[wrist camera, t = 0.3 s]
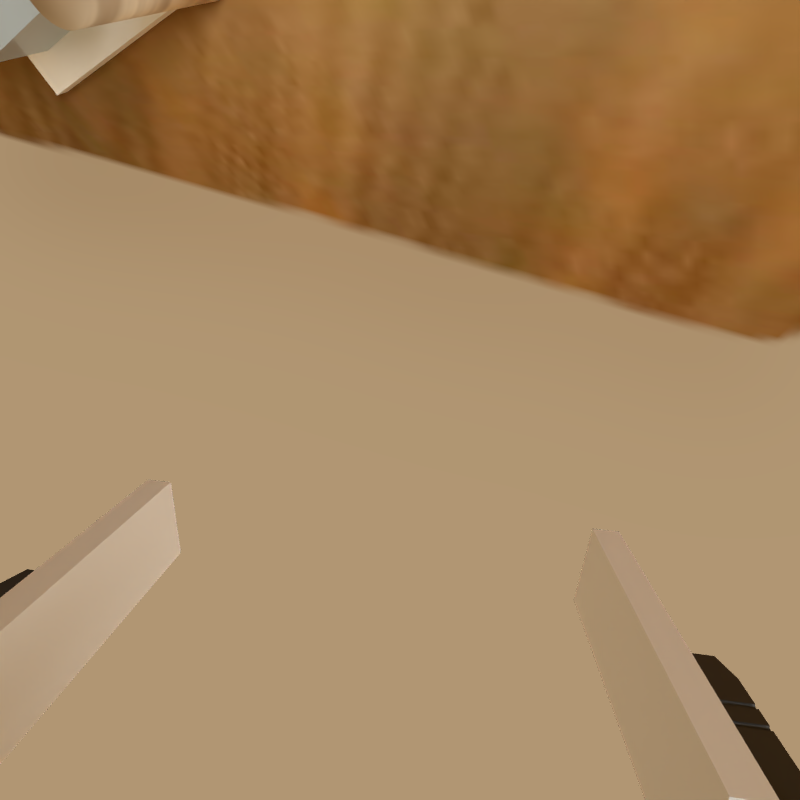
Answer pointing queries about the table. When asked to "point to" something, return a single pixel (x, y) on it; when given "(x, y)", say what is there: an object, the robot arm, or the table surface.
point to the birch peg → (104, 10)
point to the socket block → (65, 42)
